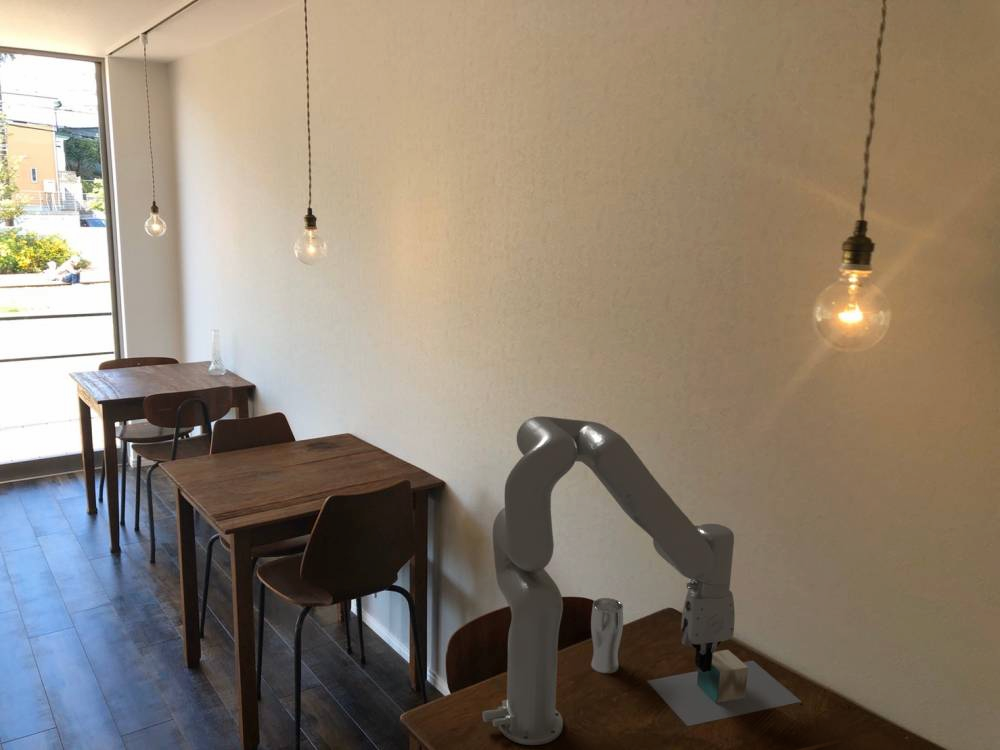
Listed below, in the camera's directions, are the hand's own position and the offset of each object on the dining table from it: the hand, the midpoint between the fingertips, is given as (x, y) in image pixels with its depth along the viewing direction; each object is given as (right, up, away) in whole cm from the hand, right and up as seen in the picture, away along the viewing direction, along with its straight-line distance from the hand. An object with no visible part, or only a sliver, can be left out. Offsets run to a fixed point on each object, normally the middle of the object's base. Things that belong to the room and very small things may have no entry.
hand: (702, 667), depth 160 cm
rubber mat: (+5, -6, +3) cm, 9 cm away
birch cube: (+1, -3, +1) cm, 3 cm away
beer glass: (-19, -4, +12) cm, 23 cm away
